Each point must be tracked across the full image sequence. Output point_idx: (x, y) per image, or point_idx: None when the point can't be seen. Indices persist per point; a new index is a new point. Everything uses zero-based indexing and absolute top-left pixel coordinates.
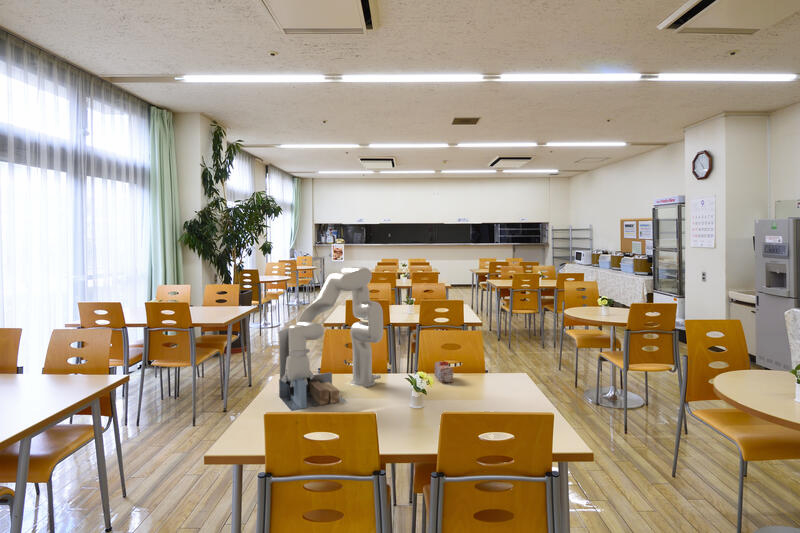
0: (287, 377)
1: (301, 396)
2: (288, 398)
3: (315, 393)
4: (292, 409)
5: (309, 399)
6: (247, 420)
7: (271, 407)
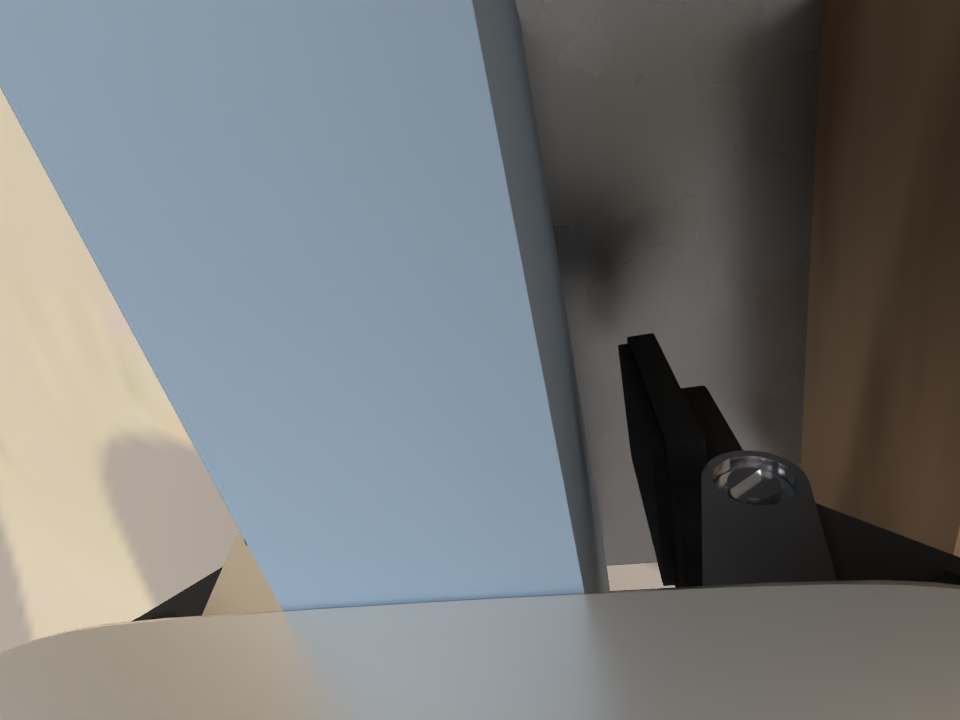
0: (31, 668)
1: None
2: None
3: (873, 392)
4: None
5: (727, 252)
6: (69, 576)
7: None
